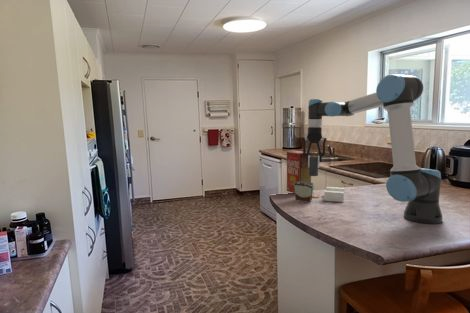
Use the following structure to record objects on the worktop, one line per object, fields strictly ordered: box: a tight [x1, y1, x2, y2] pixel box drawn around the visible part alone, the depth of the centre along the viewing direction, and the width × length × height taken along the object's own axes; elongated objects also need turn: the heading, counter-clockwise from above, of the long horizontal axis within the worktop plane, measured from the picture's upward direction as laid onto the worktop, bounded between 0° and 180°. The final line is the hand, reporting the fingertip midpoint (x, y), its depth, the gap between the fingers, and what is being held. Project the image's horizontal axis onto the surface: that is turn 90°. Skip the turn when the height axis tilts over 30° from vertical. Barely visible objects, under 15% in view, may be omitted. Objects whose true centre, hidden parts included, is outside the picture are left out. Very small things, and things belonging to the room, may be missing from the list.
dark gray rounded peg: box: [309, 155, 319, 177], centre depth 184 cm, size 5×5×11 cm
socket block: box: [323, 186, 346, 203], centre depth 182 cm, size 13×10×5 cm
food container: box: [293, 181, 315, 204], centre depth 178 cm, size 12×6×10 cm, turn 47°
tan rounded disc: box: [312, 193, 320, 199], centre depth 187 cm, size 7×7×1 cm
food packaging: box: [286, 150, 312, 194], centre depth 196 cm, size 13×9×25 cm
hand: (313, 167), depth 185 cm, fingers closed on dark gray rounded peg, 5 cm apart
